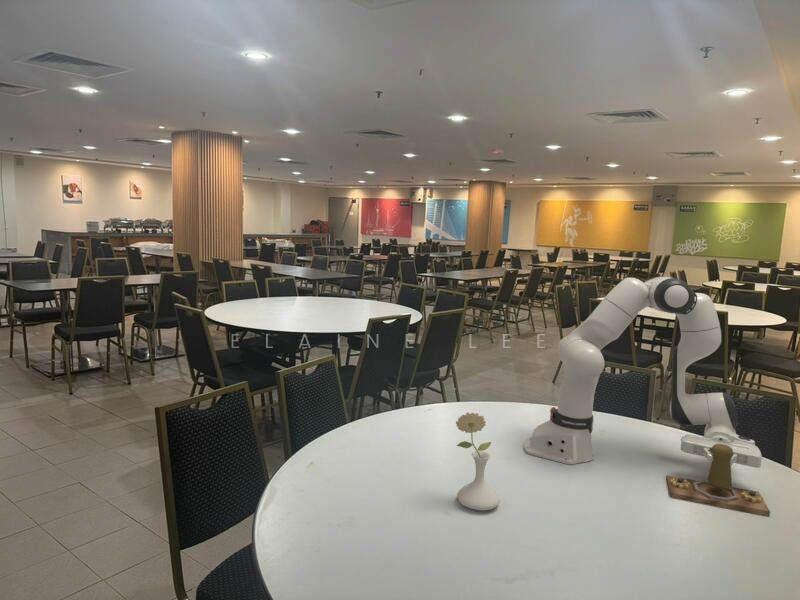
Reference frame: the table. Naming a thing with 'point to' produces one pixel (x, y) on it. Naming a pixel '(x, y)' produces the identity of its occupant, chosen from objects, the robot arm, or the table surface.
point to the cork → (721, 466)
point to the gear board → (716, 495)
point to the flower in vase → (477, 491)
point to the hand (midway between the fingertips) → (719, 460)
